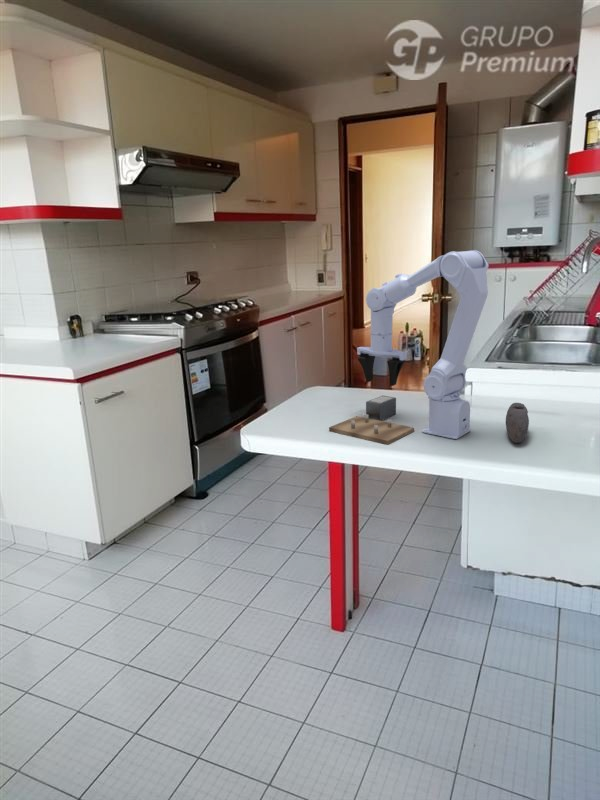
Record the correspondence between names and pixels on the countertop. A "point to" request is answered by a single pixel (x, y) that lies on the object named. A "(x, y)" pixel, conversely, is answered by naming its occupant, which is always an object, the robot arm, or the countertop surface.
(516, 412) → the perforated stone tool
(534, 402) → the countertop surface
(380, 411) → the block
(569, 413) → the countertop surface
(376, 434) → the pin tray
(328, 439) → the countertop surface
